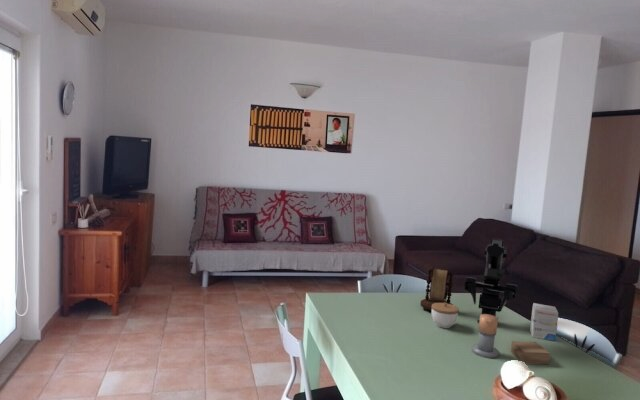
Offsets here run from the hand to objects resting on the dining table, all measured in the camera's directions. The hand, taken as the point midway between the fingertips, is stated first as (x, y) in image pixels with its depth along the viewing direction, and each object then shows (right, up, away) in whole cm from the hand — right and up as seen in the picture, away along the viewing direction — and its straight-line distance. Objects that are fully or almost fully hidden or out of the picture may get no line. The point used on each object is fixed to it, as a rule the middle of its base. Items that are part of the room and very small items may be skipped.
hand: (487, 306), depth 169 cm
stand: (+11, -16, -8) cm, 21 cm away
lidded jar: (-12, -12, +18) cm, 24 cm away
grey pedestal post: (-3, -15, -6) cm, 16 cm away
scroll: (-10, -10, +37) cm, 39 cm away
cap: (-3, -7, -7) cm, 10 cm away
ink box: (+27, -15, +14) cm, 34 cm away
